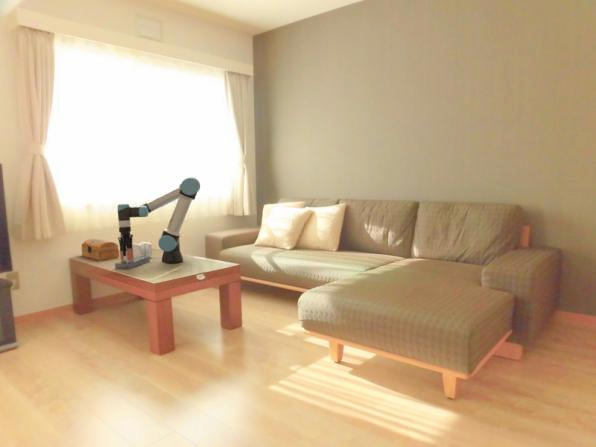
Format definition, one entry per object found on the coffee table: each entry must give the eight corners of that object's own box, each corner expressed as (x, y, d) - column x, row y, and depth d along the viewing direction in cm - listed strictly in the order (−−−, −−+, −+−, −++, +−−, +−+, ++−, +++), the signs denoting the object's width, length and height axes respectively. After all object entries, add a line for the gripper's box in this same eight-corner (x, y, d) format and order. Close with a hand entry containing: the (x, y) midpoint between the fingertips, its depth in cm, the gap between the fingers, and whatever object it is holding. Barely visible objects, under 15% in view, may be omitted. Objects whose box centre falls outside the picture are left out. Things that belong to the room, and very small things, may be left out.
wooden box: (80, 257, 327) (79, 240, 325) (101, 254, 339) (100, 237, 338) (97, 262, 307) (96, 243, 306) (119, 258, 320) (118, 240, 318)
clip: (123, 263, 289) (122, 248, 288) (134, 263, 287) (132, 248, 286) (121, 264, 287) (119, 249, 286) (131, 264, 285) (130, 249, 284)
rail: (136, 261, 306) (136, 256, 306) (149, 261, 303) (149, 256, 303) (115, 268, 283) (114, 263, 282) (129, 268, 280) (129, 263, 280)
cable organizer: (130, 257, 320) (129, 242, 318) (142, 255, 328) (141, 241, 326) (140, 260, 310) (139, 244, 309) (153, 257, 318) (152, 242, 317)
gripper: (127, 224, 292) (129, 257, 295) (112, 227, 277) (115, 262, 280) (136, 224, 291) (138, 257, 293) (122, 227, 275) (124, 262, 278)
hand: (127, 259), depth 287 cm, fingers closed on clip, 3 cm apart
